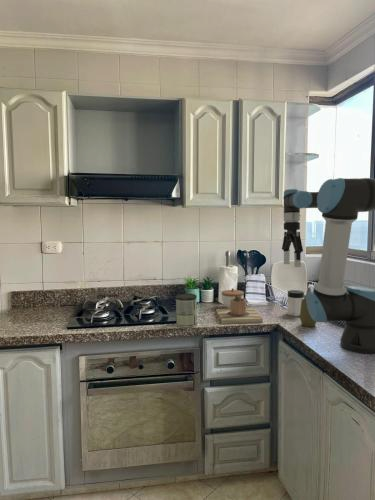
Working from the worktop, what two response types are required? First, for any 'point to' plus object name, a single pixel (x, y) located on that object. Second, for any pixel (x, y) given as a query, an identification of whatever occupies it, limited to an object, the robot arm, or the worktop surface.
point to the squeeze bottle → (306, 312)
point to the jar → (295, 302)
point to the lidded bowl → (230, 296)
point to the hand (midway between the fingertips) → (291, 265)
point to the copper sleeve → (238, 307)
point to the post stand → (238, 316)
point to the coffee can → (186, 310)
